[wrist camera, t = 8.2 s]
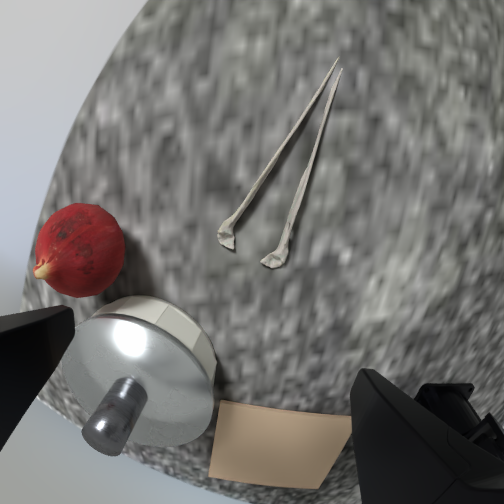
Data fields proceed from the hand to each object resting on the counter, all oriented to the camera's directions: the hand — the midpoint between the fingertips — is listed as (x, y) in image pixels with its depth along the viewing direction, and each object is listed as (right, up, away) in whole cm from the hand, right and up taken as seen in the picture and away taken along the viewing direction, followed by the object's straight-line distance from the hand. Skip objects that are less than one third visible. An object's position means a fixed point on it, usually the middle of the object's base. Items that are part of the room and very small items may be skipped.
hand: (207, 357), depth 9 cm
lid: (-7, -6, +11) cm, 14 cm away
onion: (-9, +4, +13) cm, 16 cm away
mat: (+4, -16, +17) cm, 24 cm away
